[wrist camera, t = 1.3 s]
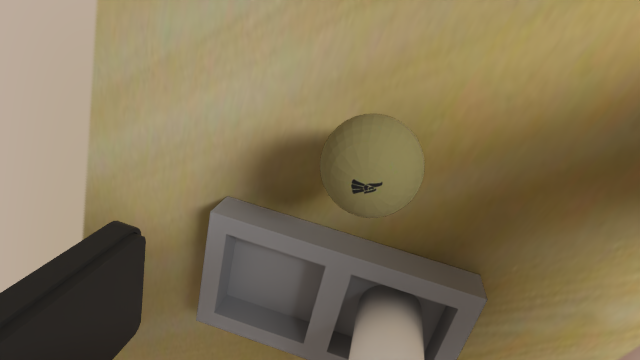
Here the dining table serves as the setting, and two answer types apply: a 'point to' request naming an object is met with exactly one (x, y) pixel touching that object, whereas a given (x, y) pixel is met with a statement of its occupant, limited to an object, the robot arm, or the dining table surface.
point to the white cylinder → (387, 326)
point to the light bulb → (372, 165)
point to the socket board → (321, 284)
